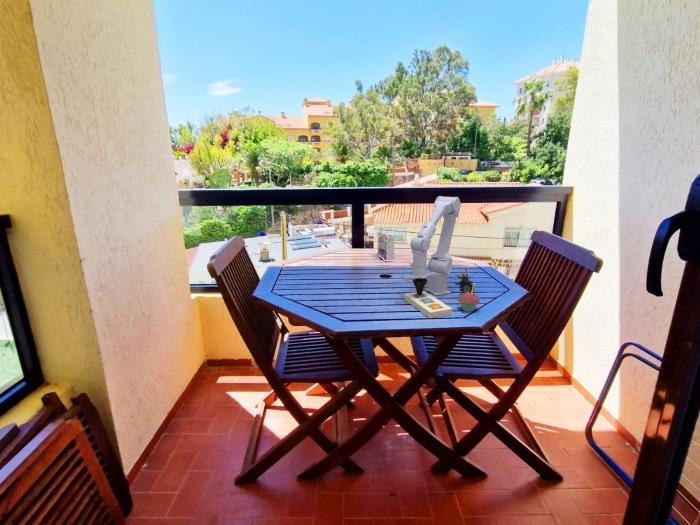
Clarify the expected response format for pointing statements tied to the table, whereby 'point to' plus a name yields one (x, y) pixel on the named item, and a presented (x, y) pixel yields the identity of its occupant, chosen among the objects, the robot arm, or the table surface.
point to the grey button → (418, 295)
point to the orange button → (435, 306)
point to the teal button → (426, 300)
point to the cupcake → (469, 300)
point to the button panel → (428, 305)
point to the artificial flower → (465, 283)
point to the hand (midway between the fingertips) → (419, 294)
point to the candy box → (386, 245)
